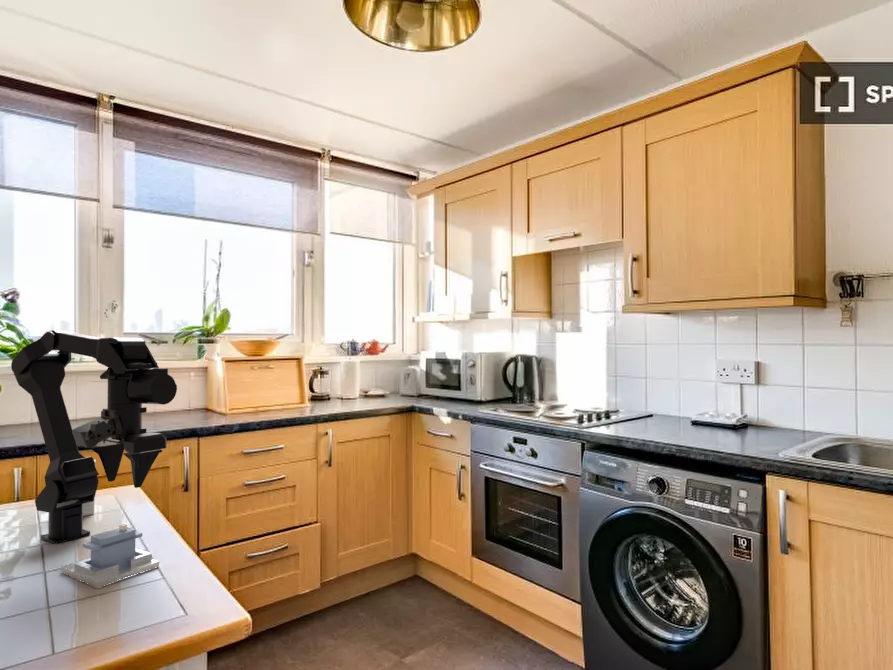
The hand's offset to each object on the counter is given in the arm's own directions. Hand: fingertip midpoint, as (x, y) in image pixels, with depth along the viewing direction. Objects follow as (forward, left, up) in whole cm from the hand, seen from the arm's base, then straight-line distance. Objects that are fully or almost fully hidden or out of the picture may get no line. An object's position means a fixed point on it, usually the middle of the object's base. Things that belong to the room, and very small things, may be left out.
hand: (124, 484), depth 105 cm
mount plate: (+9, -7, -12) cm, 17 cm away
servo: (+10, -7, -11) cm, 16 cm away
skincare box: (-30, +6, -12) cm, 33 cm away
